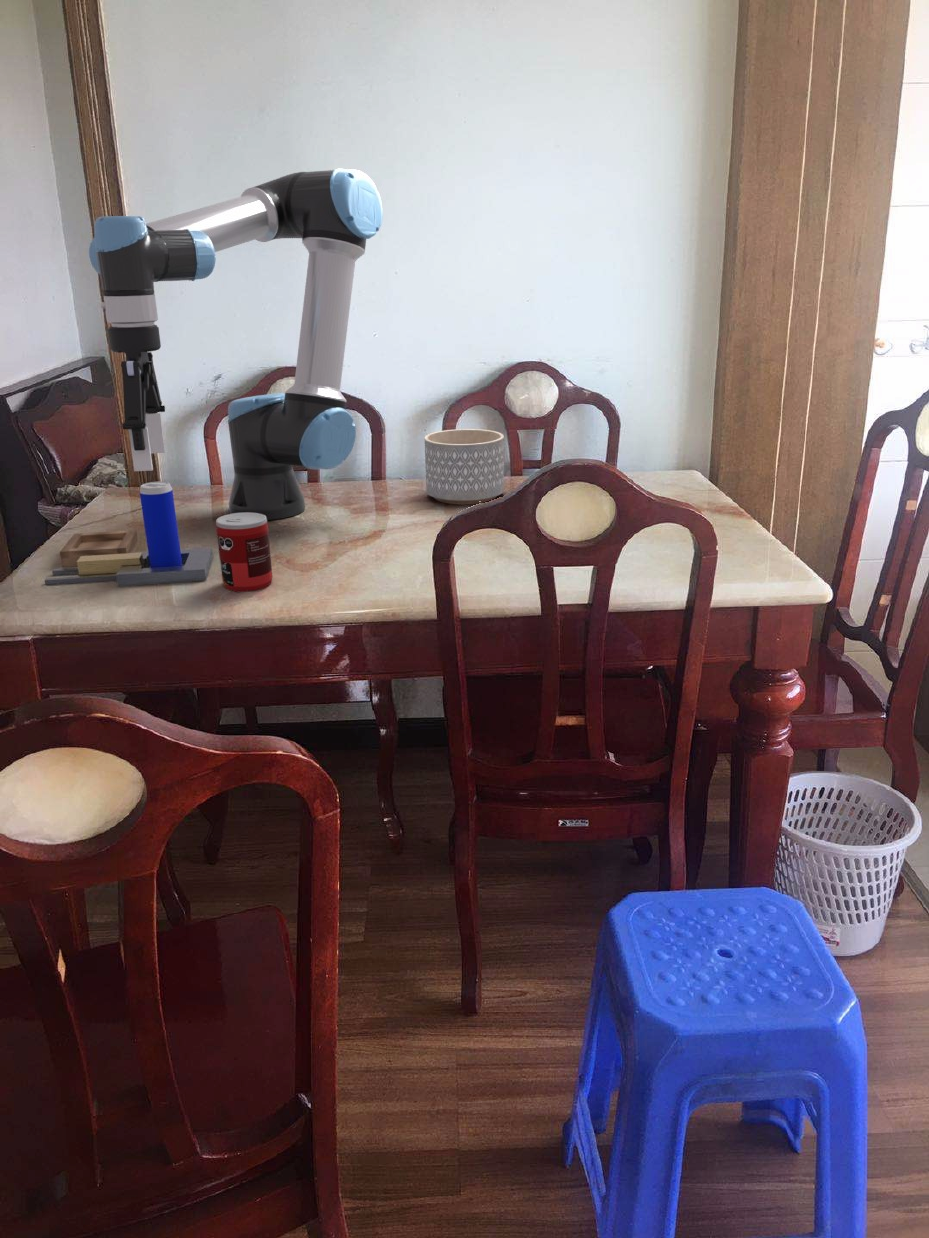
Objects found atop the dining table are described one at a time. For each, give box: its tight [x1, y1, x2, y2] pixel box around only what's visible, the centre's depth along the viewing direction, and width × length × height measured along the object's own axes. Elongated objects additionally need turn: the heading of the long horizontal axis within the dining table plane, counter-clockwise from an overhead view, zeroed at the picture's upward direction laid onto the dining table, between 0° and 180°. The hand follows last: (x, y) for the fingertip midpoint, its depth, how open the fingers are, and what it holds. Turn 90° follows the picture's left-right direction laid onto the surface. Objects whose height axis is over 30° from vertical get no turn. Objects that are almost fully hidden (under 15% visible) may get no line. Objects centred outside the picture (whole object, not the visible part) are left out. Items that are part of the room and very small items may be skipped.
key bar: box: [76, 553, 145, 576], centre depth 166 cm, size 10×3×3 cm, turn 98°
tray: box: [59, 529, 140, 568], centre depth 177 cm, size 11×11×3 cm
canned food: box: [215, 512, 273, 593], centre depth 159 cm, size 8×8×11 cm
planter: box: [423, 428, 505, 505], centre depth 208 cm, size 16×16×13 cm
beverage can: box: [139, 480, 183, 568], centre depth 165 cm, size 5×5×15 cm
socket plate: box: [44, 547, 214, 587], centre depth 167 cm, size 26×12×2 cm, turn 98°
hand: (150, 461), depth 161 cm, fingers open, 13 cm apart
